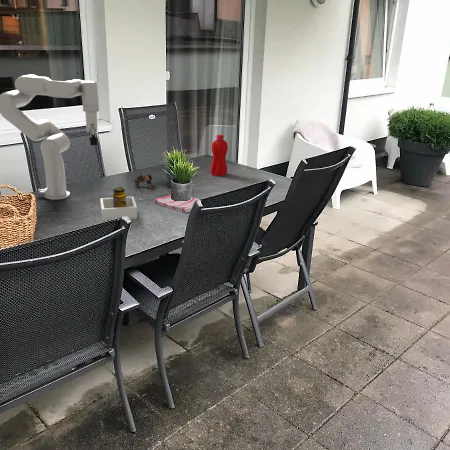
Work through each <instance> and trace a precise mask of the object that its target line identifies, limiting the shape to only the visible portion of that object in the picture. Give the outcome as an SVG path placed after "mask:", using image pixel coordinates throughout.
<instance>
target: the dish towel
mask: <svg viewBox="0 0 450 450" xmlns="http://www.w3.org/2000/svg"><path fill="white" fill-rule="evenodd" d="M190 197H191V199H190V200H188V201H174V200H172V199H171V193H170V194H168V195H165V196H163V197H155V199H154V203H155V204H156V203H157V205H160V206H163V207H165V208H168V209H172V210H174V209H175V211H177V210H178V212H180V211H181V213H184V212H185V213H184V214H189V213H191V212H190V210H191V208H192V206H193V203H194V202H195V201H196V200H199V199H200V198H196V197H192V196H190Z"/></svg>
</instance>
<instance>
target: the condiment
mask: <svg viewBox="0 0 450 450" xmlns="http://www.w3.org/2000/svg"><path fill="white" fill-rule="evenodd" d="M126 197H127V194H126V192H125V188H124V187H120V186H119V187H114V188H113V194H112V198H113V205H114V208H118V207H126Z"/></svg>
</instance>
